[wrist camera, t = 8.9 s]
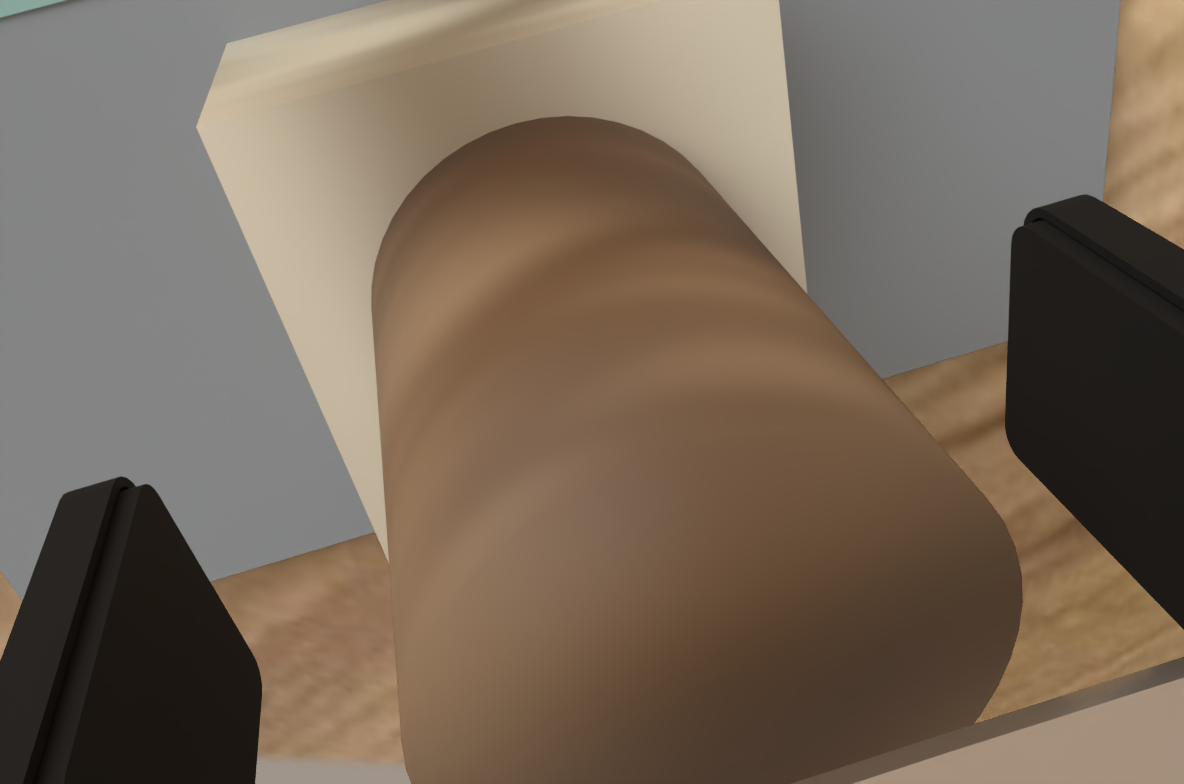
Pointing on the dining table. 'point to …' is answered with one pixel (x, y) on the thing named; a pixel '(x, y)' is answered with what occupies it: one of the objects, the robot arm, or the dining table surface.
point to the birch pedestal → (456, 117)
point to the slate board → (252, 323)
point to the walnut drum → (654, 490)
